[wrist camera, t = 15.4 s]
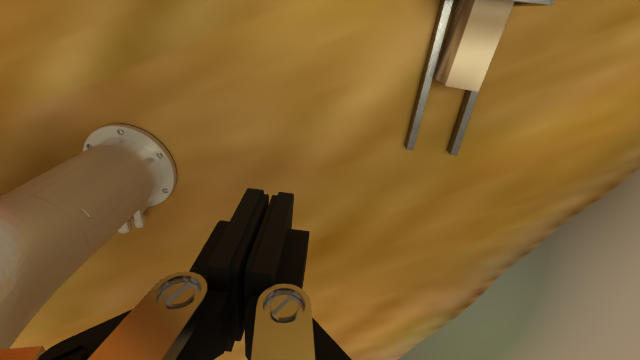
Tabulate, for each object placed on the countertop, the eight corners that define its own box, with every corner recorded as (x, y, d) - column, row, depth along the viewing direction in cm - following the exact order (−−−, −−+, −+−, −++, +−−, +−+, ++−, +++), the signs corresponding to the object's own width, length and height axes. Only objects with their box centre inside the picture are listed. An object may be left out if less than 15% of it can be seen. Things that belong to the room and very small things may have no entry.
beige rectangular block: (462, 82, 37) (478, 91, 32) (432, 76, 37) (445, 85, 32) (507, -41, 31) (535, -50, 27) (473, -48, 31) (495, -58, 26)
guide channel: (453, 150, 40) (456, 155, 39) (404, 144, 40) (406, 149, 39) (501, 5, 33) (508, 5, 31) (441, -2, 33) (445, -3, 31)
